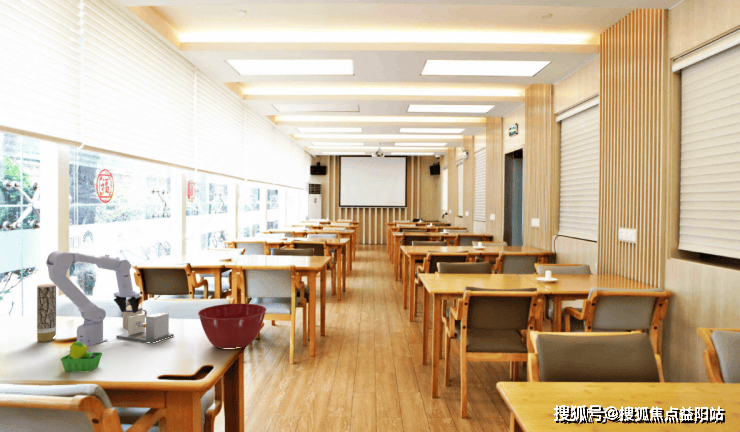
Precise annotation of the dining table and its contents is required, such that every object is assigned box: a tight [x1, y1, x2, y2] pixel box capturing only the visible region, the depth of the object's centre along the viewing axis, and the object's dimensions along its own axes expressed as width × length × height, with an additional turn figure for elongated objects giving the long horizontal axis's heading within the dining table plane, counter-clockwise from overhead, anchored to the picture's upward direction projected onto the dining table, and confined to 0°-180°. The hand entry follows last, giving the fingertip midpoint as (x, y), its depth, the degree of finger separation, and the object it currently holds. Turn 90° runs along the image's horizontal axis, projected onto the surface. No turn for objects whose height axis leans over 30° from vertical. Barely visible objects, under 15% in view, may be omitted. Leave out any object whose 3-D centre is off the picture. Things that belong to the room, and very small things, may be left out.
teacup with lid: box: [122, 304, 148, 329], centre depth 219 cm, size 12×9×12 cm
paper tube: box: [36, 283, 57, 343], centre depth 193 cm, size 7×7×25 cm
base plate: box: [116, 329, 174, 344], centre depth 198 cm, size 12×22×1 cm, turn 69°
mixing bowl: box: [197, 302, 267, 349], centre depth 187 cm, size 28×28×16 cm
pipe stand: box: [136, 312, 170, 340], centre depth 198 cm, size 8×19×10 cm, turn 69°
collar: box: [127, 313, 146, 335], centre depth 200 cm, size 7×2×8 cm, turn 159°
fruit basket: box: [60, 340, 103, 373], centre depth 157 cm, size 11×9×11 cm
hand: (129, 311), depth 203 cm, fingers open, 7 cm apart
